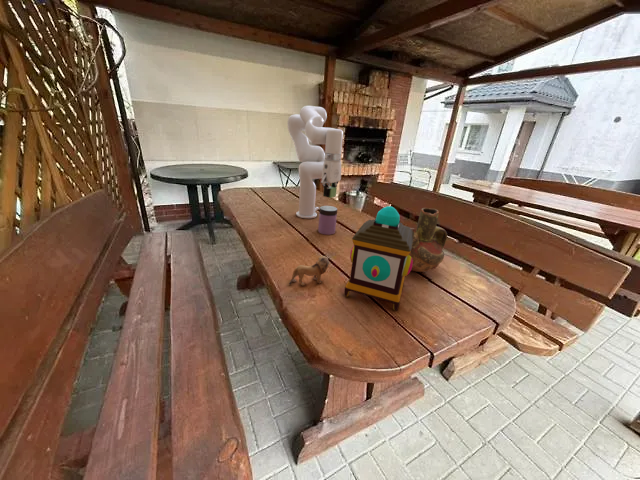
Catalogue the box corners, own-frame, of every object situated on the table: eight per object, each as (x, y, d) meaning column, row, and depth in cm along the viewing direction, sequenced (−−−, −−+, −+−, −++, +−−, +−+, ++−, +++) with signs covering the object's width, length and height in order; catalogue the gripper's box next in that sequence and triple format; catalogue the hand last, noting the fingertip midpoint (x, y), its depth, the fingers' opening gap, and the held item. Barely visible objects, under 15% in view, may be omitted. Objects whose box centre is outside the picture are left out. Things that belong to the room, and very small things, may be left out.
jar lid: (326, 209, 139) (326, 204, 138) (340, 213, 134) (340, 208, 133) (315, 212, 132) (316, 207, 132) (330, 216, 128) (330, 212, 127)
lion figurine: (323, 274, 98) (325, 252, 94) (330, 281, 93) (332, 259, 90) (286, 281, 91) (286, 259, 88) (291, 290, 87) (292, 266, 83)
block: (328, 194, 133) (329, 185, 131) (335, 196, 130) (336, 187, 128) (323, 196, 129) (323, 187, 127) (330, 198, 127) (331, 188, 125)
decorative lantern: (338, 297, 85) (348, 208, 73) (354, 270, 102) (364, 194, 90) (401, 316, 78) (424, 222, 66) (407, 283, 95) (426, 204, 83)
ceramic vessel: (375, 264, 107) (385, 205, 97) (420, 254, 119) (433, 201, 109) (405, 286, 93) (420, 221, 83) (453, 273, 105) (471, 213, 95)
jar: (324, 226, 143) (326, 205, 138) (338, 231, 138) (340, 209, 134) (314, 231, 137) (316, 209, 132) (328, 236, 132) (330, 213, 127)
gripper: (328, 159, 114) (325, 200, 121) (349, 157, 127) (345, 194, 134) (315, 157, 118) (313, 196, 125) (336, 155, 131) (333, 191, 138)
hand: (329, 195), depth 130 cm, fingers closed on block, 4 cm apart
